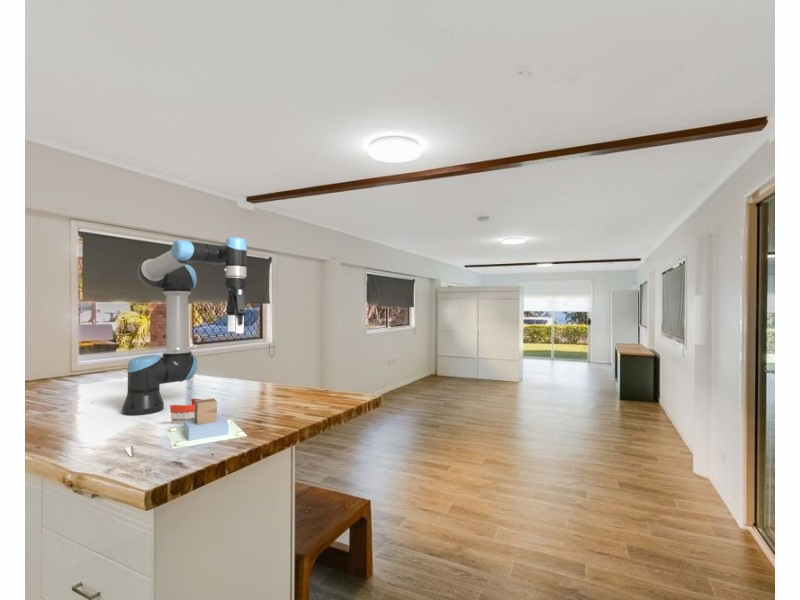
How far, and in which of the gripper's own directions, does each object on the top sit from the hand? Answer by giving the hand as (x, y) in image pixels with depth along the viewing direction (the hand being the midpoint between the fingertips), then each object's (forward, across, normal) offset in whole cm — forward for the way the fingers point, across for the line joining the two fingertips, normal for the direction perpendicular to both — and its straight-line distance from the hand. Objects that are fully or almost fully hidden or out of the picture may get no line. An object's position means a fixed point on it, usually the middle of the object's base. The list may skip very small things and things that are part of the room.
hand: (235, 332), depth 157 cm
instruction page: (+35, +16, -31) cm, 49 cm away
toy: (+35, -7, -13) cm, 38 cm away
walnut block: (+29, +13, -12) cm, 34 cm away
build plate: (+35, +13, -12) cm, 39 cm away
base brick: (+34, +13, -12) cm, 38 cm away
